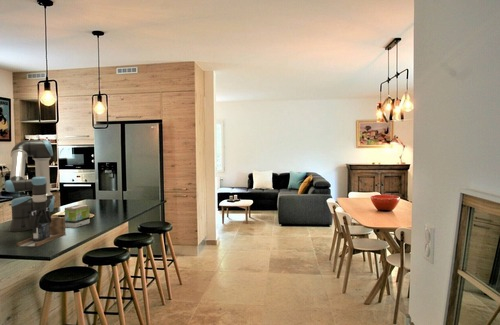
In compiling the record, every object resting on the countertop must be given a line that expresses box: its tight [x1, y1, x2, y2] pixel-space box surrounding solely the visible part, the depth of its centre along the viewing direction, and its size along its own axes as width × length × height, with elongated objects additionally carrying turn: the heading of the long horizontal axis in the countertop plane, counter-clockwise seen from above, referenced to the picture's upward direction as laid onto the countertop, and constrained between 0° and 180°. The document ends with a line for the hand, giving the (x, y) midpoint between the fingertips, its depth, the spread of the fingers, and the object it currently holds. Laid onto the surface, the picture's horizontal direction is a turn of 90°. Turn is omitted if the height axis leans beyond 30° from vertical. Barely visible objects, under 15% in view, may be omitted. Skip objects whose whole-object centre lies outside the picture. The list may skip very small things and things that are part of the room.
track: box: [16, 216, 66, 248], centre depth 205 cm, size 13×26×12 cm, turn 175°
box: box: [31, 222, 50, 241], centre depth 204 cm, size 8×6×11 cm
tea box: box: [64, 204, 91, 229], centre depth 243 cm, size 15×10×15 cm
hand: (41, 235), depth 205 cm, fingers open, 9 cm apart
